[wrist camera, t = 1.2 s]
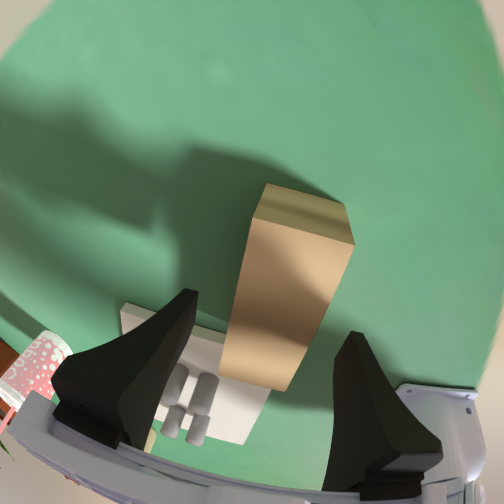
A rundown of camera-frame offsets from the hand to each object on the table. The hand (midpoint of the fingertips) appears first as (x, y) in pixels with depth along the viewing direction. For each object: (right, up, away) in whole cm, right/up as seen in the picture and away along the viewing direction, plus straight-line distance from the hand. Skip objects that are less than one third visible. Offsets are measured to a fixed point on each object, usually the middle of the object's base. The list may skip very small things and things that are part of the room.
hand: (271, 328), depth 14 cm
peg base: (-6, -8, +11) cm, 15 cm away
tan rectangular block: (+1, +2, +4) cm, 5 cm away
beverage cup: (-22, -7, +14) cm, 27 cm away
